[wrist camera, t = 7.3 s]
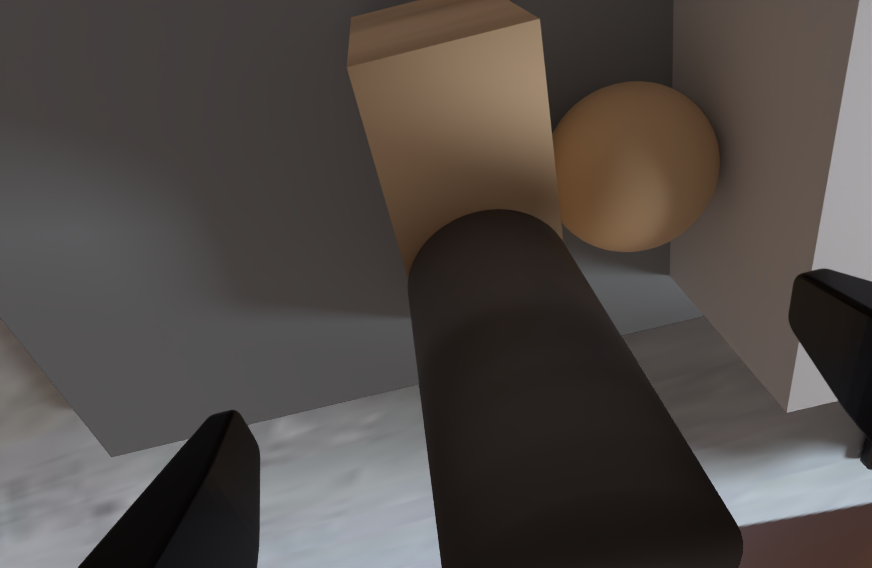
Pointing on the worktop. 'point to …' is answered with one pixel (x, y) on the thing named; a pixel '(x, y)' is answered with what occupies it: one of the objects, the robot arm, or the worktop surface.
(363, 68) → the lever handle
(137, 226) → the cracker base
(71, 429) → the worktop surface
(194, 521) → the robot arm
